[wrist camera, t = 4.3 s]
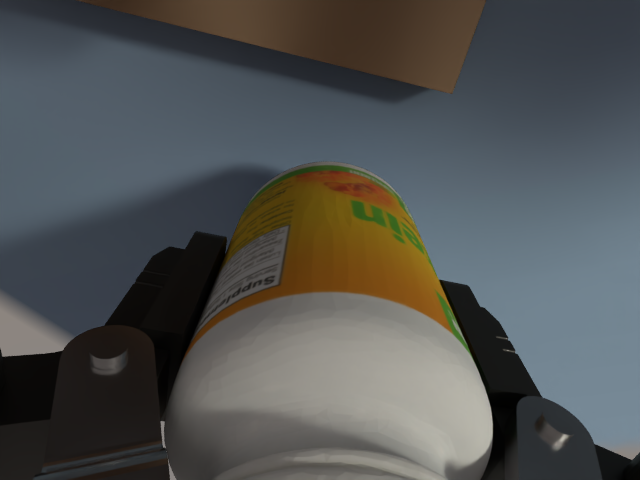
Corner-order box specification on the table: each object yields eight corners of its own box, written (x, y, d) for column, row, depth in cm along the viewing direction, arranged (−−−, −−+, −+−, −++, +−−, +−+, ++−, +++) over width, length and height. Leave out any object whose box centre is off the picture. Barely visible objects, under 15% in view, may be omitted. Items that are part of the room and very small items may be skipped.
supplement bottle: (448, 245, 13) (690, 696, 4) (321, 335, 15) (317, 780, 6) (332, 116, 11) (362, 466, 3) (203, 236, 13) (-36, 679, 4)
